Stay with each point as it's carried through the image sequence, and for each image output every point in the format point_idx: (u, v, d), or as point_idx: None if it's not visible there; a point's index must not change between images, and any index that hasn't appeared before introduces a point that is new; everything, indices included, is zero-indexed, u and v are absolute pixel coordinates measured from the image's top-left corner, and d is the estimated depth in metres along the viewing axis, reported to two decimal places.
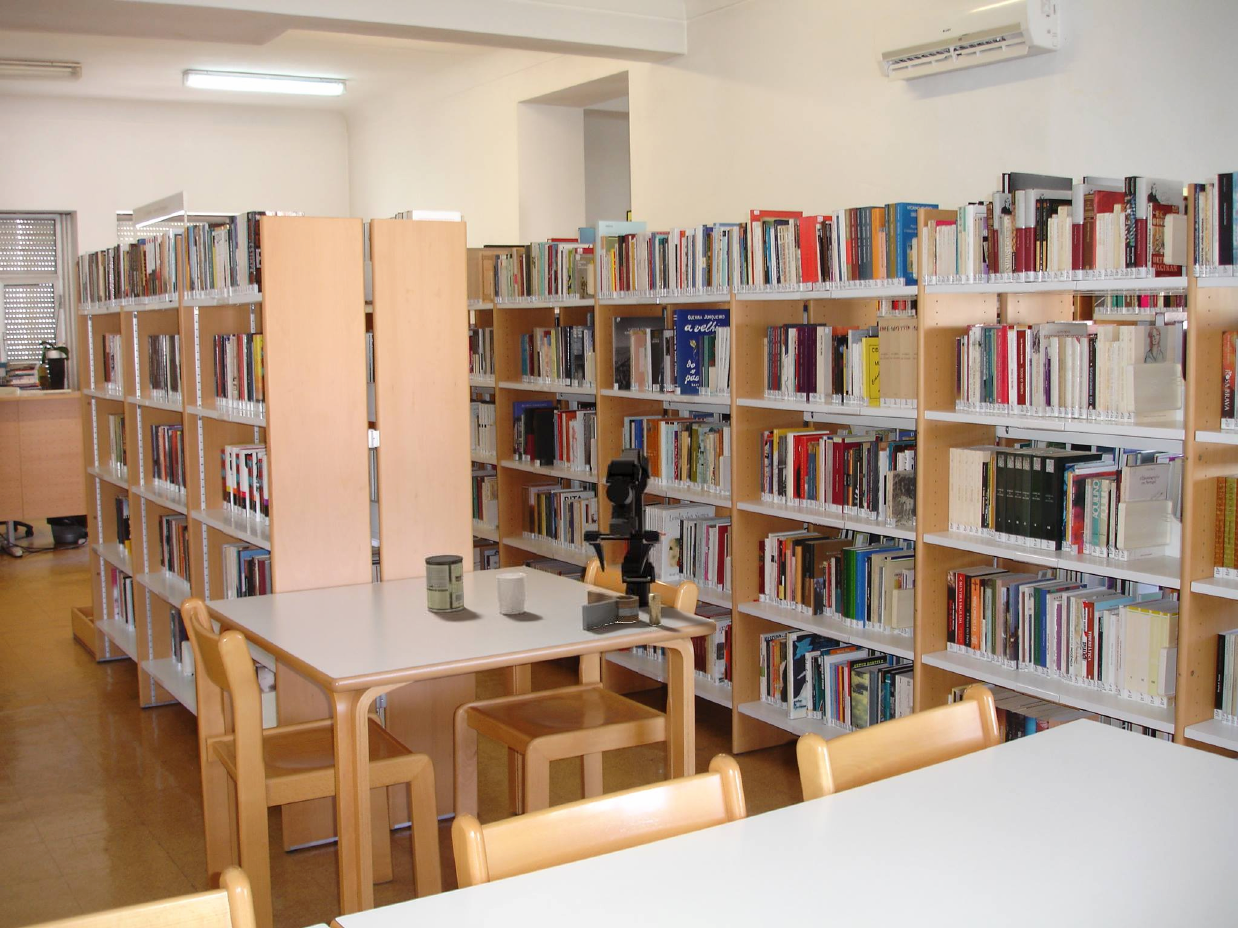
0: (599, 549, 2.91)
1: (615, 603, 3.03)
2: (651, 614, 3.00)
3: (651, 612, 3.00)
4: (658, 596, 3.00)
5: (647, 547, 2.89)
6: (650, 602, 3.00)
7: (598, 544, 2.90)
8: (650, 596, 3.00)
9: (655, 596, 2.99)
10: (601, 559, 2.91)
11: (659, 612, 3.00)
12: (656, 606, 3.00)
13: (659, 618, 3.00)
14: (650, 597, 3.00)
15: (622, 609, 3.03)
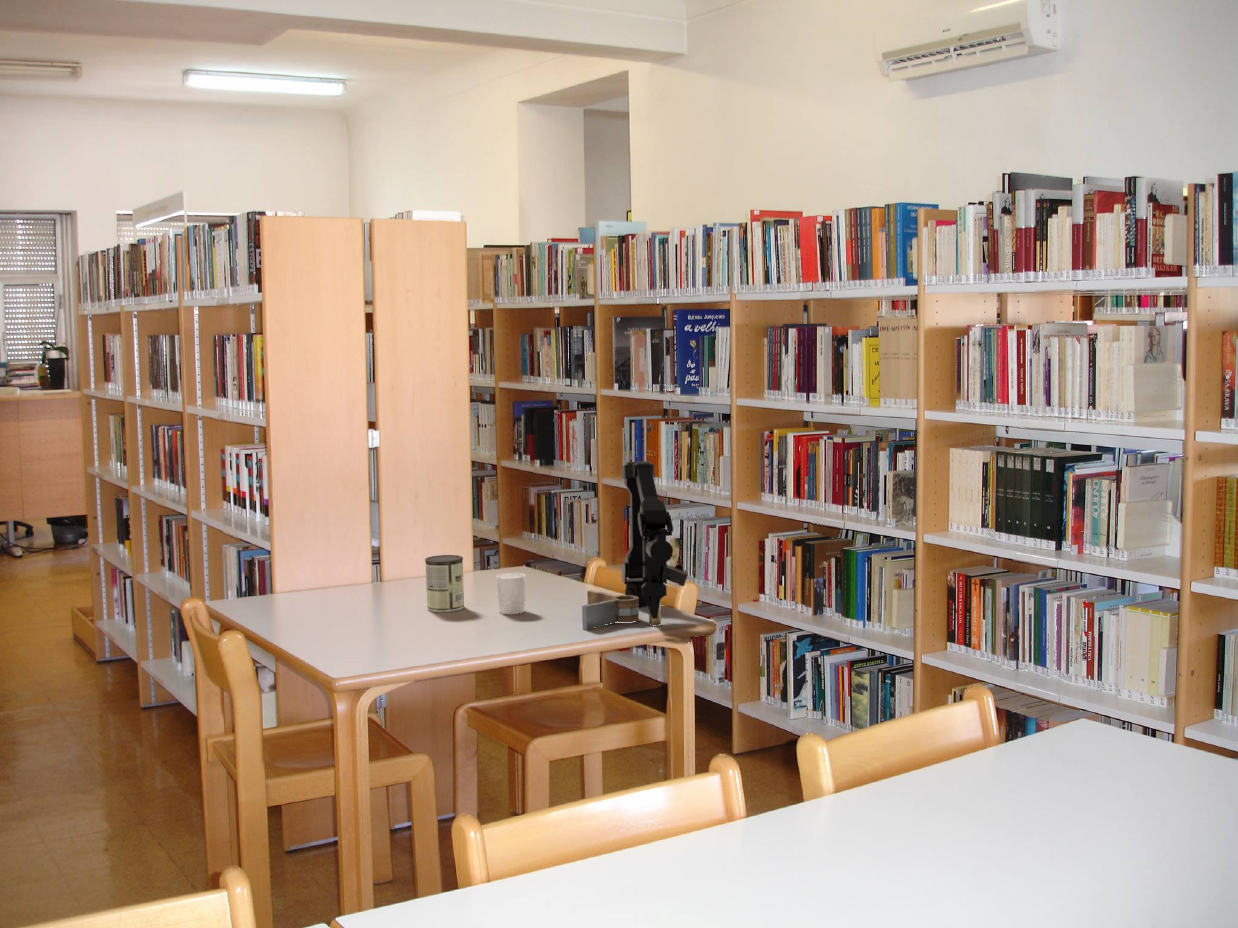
0: None
1: (615, 603, 3.03)
2: None
3: None
4: None
5: None
6: None
7: None
8: None
9: None
10: (658, 606, 2.99)
11: (659, 612, 3.00)
12: None
13: (659, 618, 3.00)
14: None
15: (622, 609, 3.03)
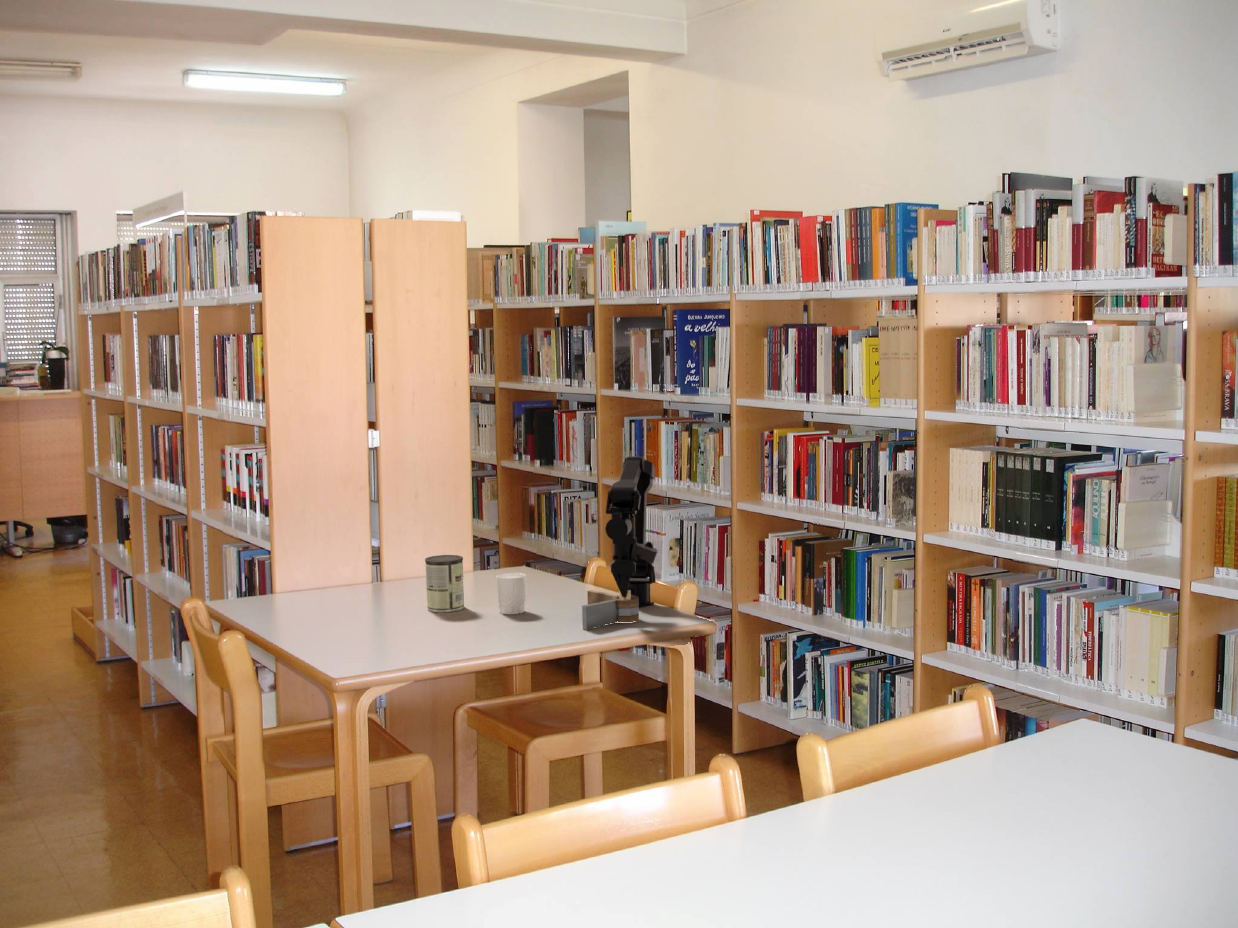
0: None
1: (615, 603, 3.03)
2: None
3: None
4: (628, 592, 3.05)
5: None
6: (620, 598, 3.05)
7: None
8: None
9: None
10: (628, 585, 3.02)
11: None
12: None
13: None
14: (620, 593, 3.05)
15: (622, 609, 3.03)
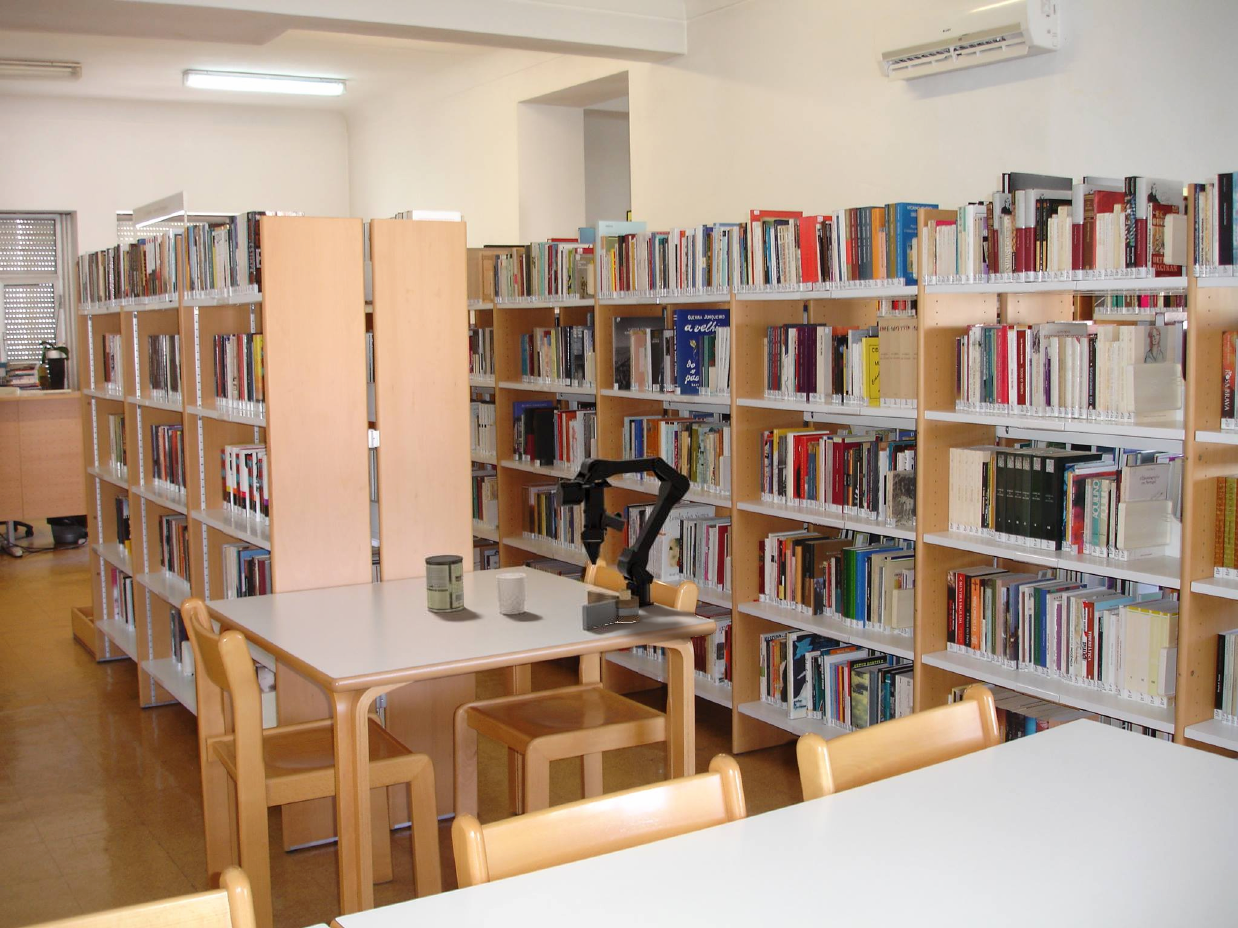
0: None
1: (615, 603, 3.03)
2: None
3: None
4: (628, 592, 3.05)
5: None
6: (620, 598, 3.05)
7: None
8: (620, 592, 3.05)
9: (625, 592, 3.05)
10: (597, 553, 3.15)
11: None
12: None
13: None
14: (620, 593, 3.05)
15: (622, 609, 3.03)
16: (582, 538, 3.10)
